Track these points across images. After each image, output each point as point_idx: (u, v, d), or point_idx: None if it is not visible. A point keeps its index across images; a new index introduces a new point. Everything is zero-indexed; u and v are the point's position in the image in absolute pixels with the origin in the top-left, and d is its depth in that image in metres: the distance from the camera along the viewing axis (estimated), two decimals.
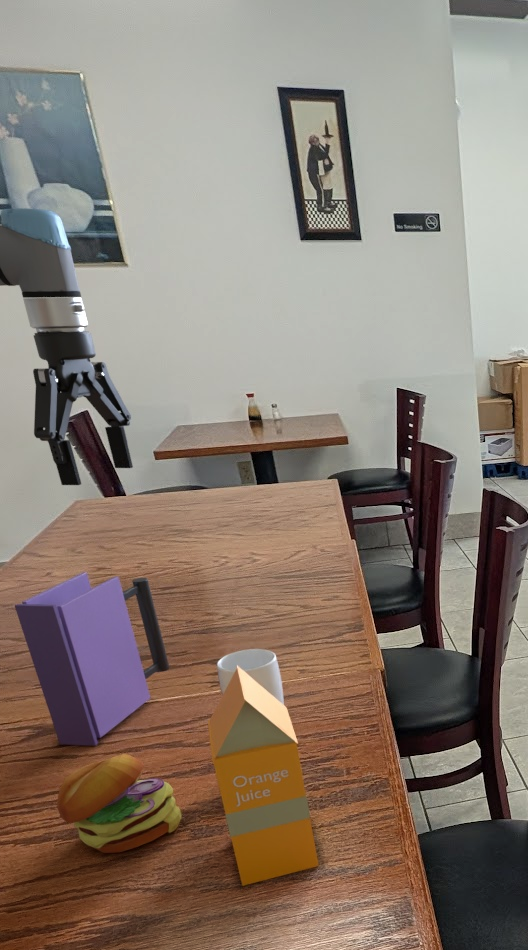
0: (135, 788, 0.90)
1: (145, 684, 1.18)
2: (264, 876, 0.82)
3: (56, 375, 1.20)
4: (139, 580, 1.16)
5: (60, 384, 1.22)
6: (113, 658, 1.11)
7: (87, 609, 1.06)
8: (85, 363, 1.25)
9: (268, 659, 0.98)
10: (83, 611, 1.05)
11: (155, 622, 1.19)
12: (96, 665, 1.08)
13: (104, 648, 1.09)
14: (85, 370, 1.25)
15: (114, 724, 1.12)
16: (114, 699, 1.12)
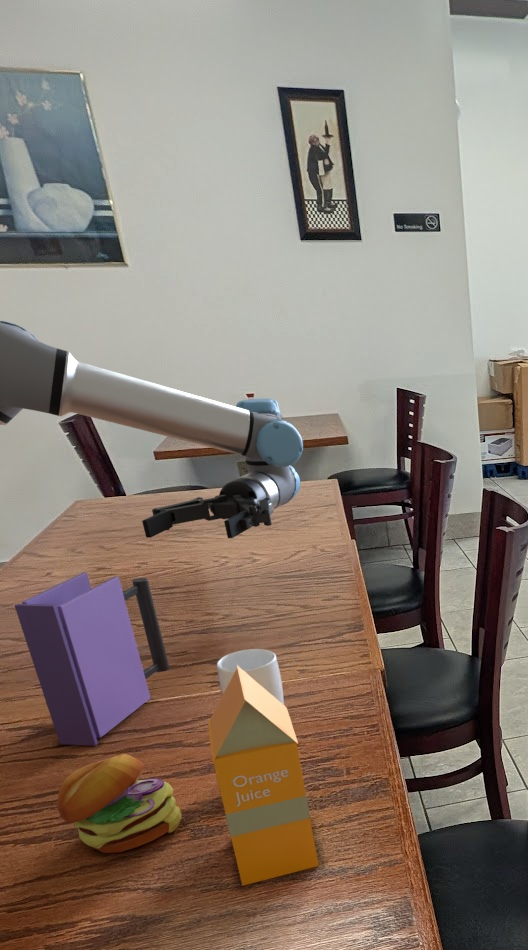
0: (135, 788, 0.90)
1: (145, 684, 1.18)
2: (264, 876, 0.82)
3: (257, 509, 1.41)
4: (139, 580, 1.16)
5: None
6: (113, 658, 1.11)
7: (87, 609, 1.06)
8: None
9: (268, 659, 0.98)
10: (83, 611, 1.05)
11: (155, 622, 1.19)
12: (96, 665, 1.08)
13: (104, 648, 1.09)
14: None
15: (114, 724, 1.12)
16: (114, 699, 1.12)
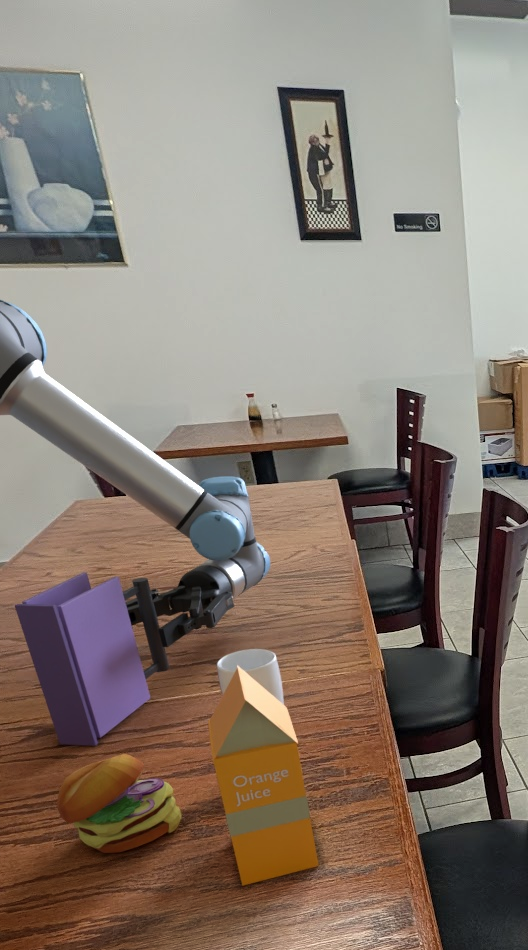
0: (135, 788, 0.90)
1: (145, 684, 1.18)
2: (264, 876, 0.82)
3: None
4: (139, 580, 1.16)
5: (205, 599, 1.29)
6: (113, 658, 1.11)
7: (87, 609, 1.06)
8: None
9: (268, 659, 0.98)
10: (83, 611, 1.05)
11: (155, 622, 1.19)
12: (96, 665, 1.08)
13: (104, 648, 1.09)
14: None
15: (114, 724, 1.12)
16: (114, 699, 1.12)
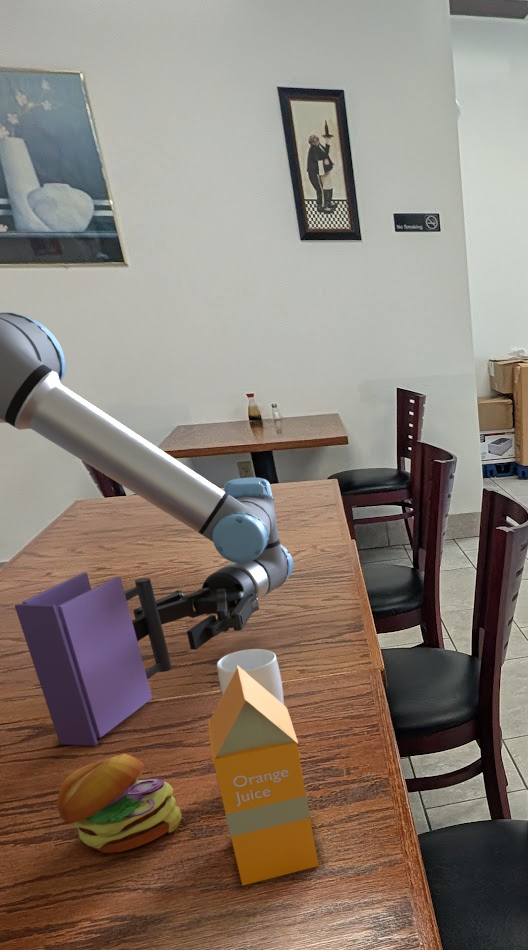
0: (135, 788, 0.90)
1: (147, 684, 1.18)
2: (264, 876, 0.82)
3: None
4: (141, 580, 1.16)
5: (230, 601, 1.28)
6: (114, 658, 1.11)
7: (88, 609, 1.06)
8: None
9: (268, 659, 0.98)
10: (83, 611, 1.05)
11: (158, 623, 1.19)
12: (97, 665, 1.08)
13: (104, 648, 1.09)
14: None
15: (115, 724, 1.12)
16: (115, 699, 1.12)
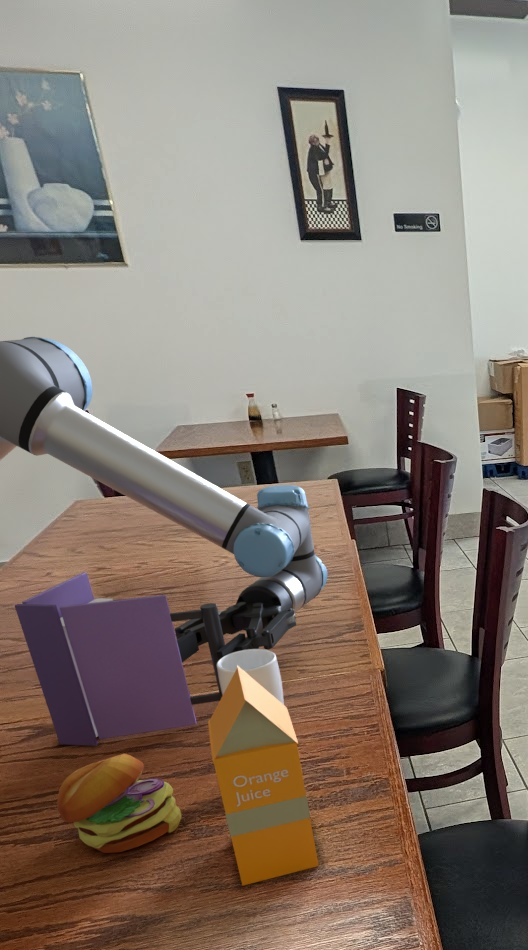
0: (135, 788, 0.90)
1: (189, 709, 1.11)
2: (264, 876, 0.82)
3: None
4: (206, 606, 1.06)
5: (268, 616, 1.21)
6: (137, 672, 1.07)
7: (102, 618, 1.03)
8: None
9: (268, 659, 0.98)
10: (95, 618, 1.02)
11: (216, 654, 1.08)
12: (107, 673, 1.05)
13: (123, 660, 1.05)
14: None
15: (125, 733, 1.09)
16: (130, 711, 1.08)
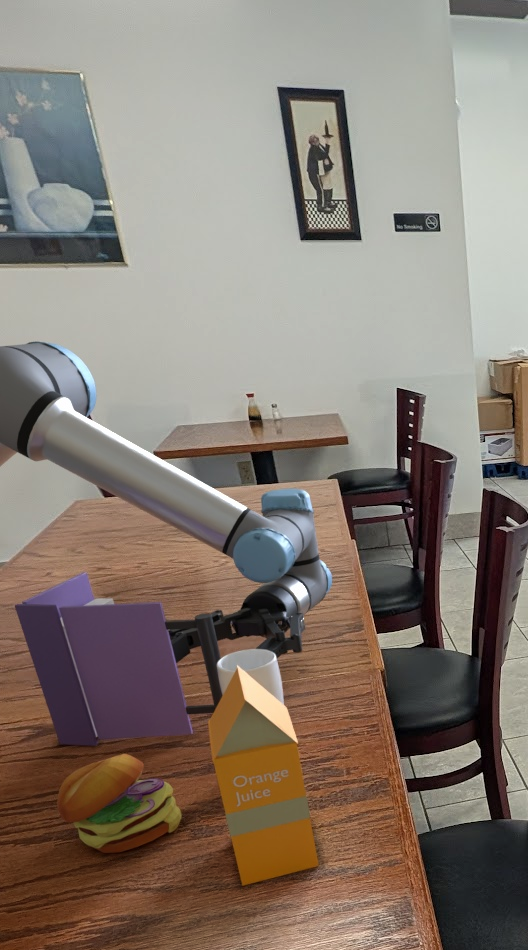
0: (135, 788, 0.90)
1: (185, 718, 1.08)
2: (264, 876, 0.82)
3: None
4: (200, 616, 1.03)
5: None
6: (133, 677, 1.05)
7: (99, 621, 1.02)
8: None
9: (268, 659, 0.98)
10: (92, 621, 1.01)
11: (209, 666, 1.05)
12: (105, 676, 1.05)
13: (120, 664, 1.04)
14: None
15: (123, 736, 1.09)
16: (127, 714, 1.07)
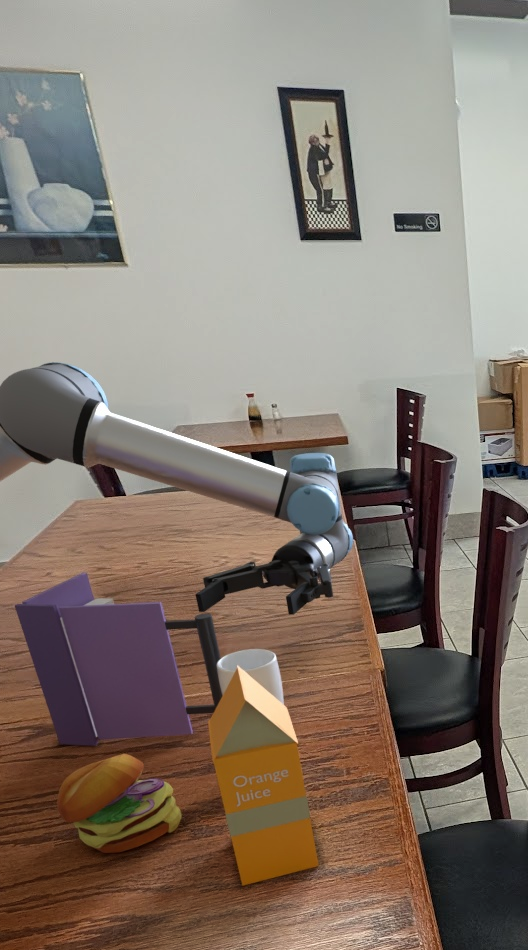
0: (135, 788, 0.90)
1: (185, 718, 1.08)
2: (264, 876, 0.82)
3: (314, 575, 1.31)
4: (200, 616, 1.03)
5: None
6: (133, 677, 1.05)
7: (99, 621, 1.02)
8: None
9: (268, 659, 0.98)
10: (92, 621, 1.01)
11: (209, 666, 1.05)
12: (105, 676, 1.05)
13: (120, 664, 1.04)
14: None
15: (123, 736, 1.09)
16: (127, 714, 1.07)
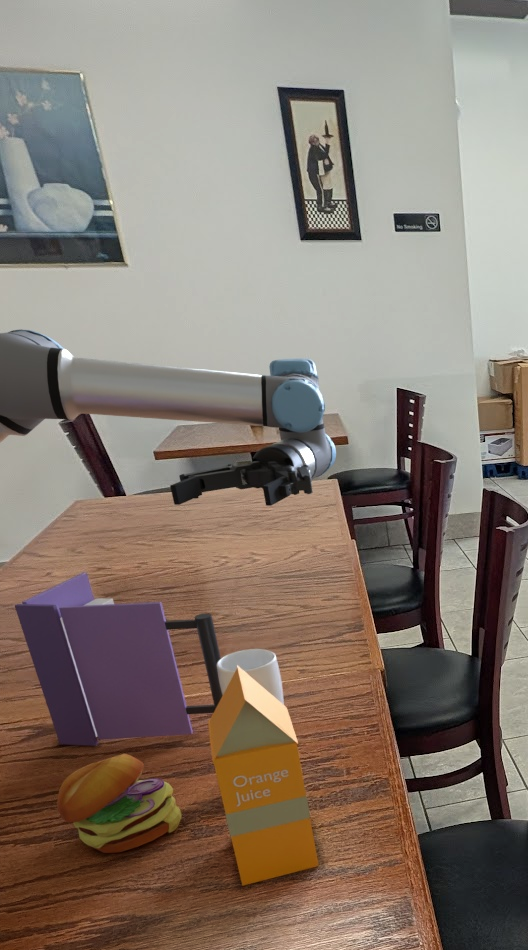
0: (135, 788, 0.90)
1: (185, 718, 1.08)
2: (264, 876, 0.82)
3: None
4: (200, 616, 1.03)
5: None
6: (133, 677, 1.05)
7: (99, 621, 1.02)
8: None
9: (268, 659, 0.98)
10: (92, 621, 1.01)
11: (209, 666, 1.05)
12: (105, 676, 1.05)
13: (120, 664, 1.04)
14: None
15: (123, 736, 1.09)
16: (127, 714, 1.07)
